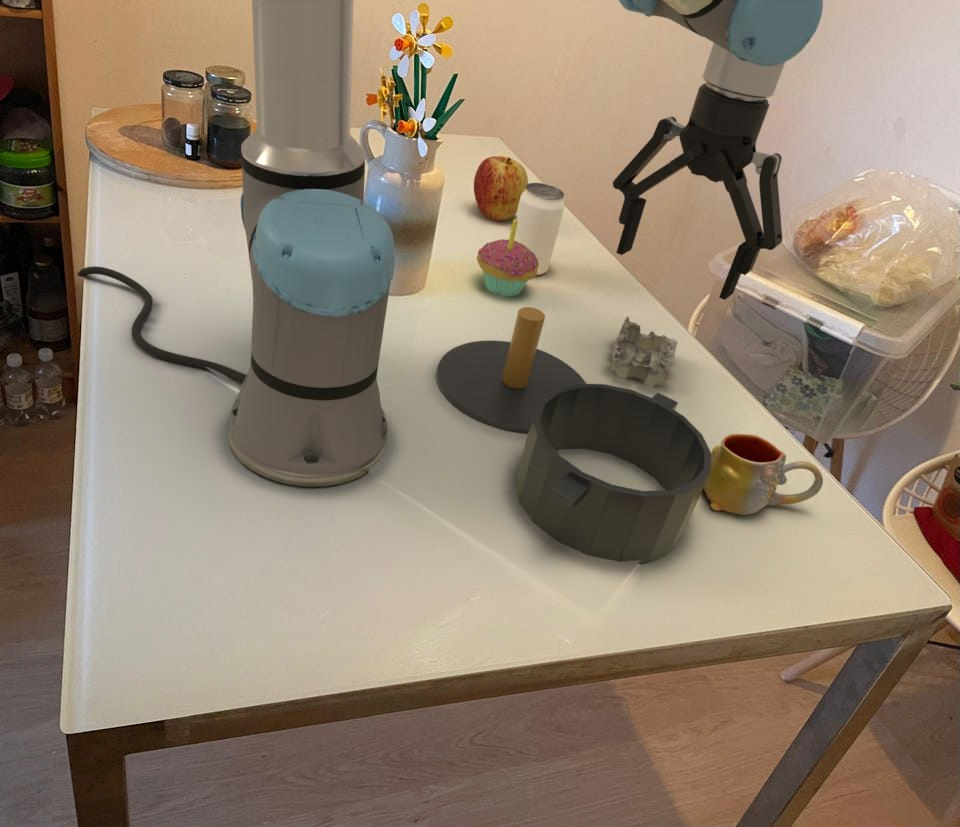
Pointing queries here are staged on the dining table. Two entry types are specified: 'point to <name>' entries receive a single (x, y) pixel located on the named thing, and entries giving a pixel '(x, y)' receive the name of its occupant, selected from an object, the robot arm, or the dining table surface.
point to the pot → (595, 503)
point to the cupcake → (507, 265)
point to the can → (539, 221)
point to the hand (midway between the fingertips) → (673, 273)
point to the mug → (752, 475)
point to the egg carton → (642, 355)
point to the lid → (504, 375)
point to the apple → (499, 187)
